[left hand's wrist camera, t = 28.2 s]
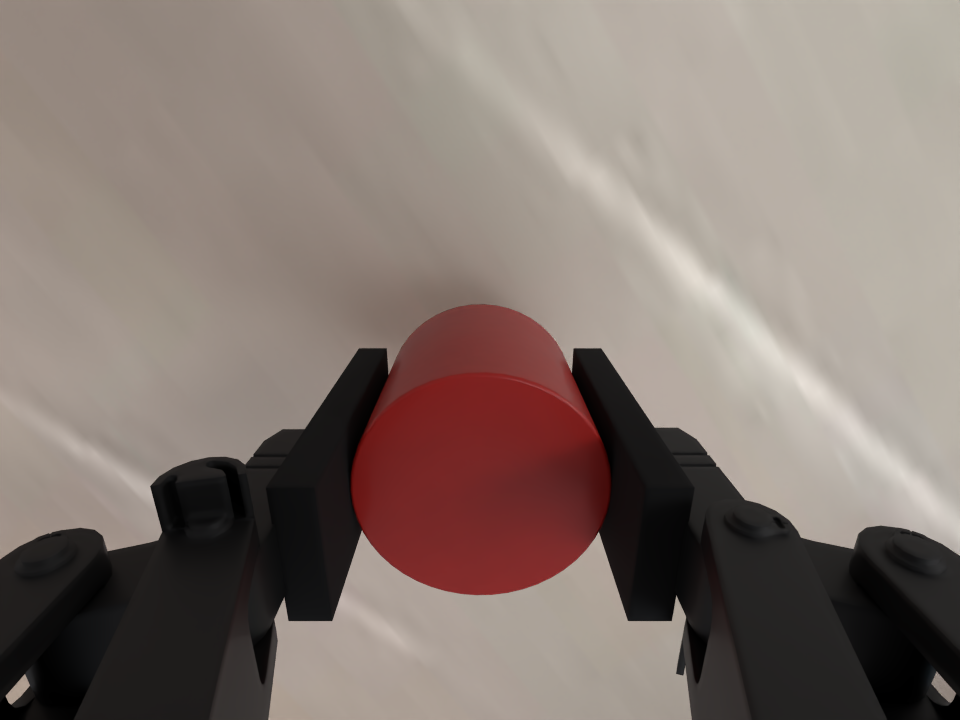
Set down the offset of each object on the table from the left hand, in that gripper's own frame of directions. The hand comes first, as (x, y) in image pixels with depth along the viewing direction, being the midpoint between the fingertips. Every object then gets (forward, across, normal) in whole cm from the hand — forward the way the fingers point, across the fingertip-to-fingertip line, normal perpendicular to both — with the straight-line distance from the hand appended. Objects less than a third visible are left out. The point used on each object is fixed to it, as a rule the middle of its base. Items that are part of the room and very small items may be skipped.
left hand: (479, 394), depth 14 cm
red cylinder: (0, 0, 0) cm, 0 cm away
